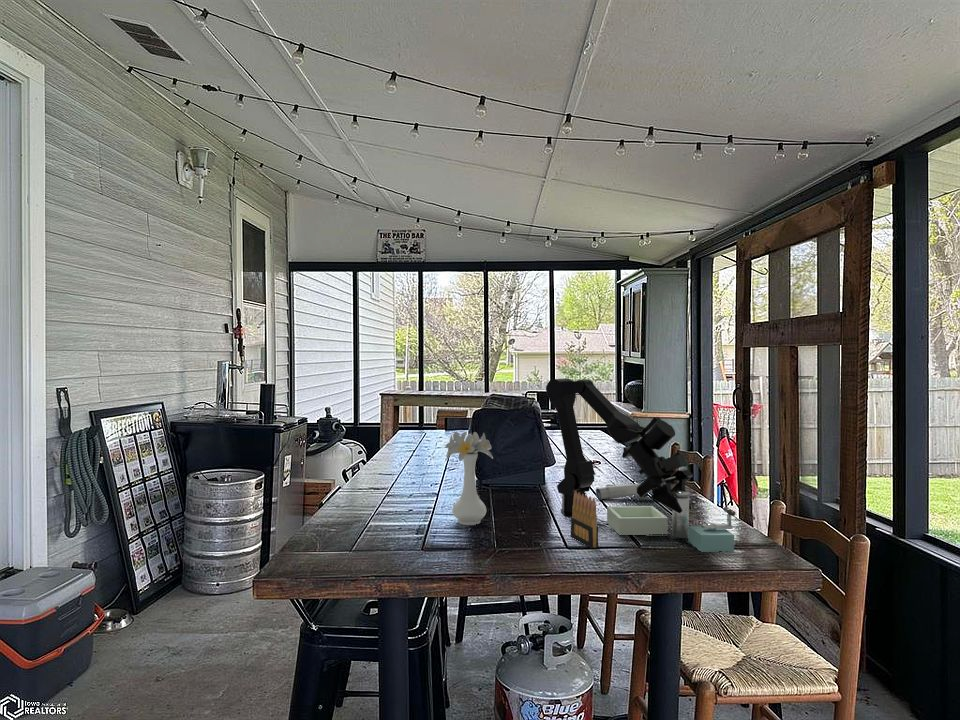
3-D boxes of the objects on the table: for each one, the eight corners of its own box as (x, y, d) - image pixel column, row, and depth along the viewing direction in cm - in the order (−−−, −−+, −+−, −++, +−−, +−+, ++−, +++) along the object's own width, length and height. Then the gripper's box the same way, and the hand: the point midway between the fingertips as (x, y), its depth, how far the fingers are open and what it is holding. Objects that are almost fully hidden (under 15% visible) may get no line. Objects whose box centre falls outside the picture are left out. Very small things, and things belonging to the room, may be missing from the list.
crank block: (700, 552, 161) (701, 535, 160) (688, 542, 168) (688, 526, 168) (733, 551, 161) (734, 534, 161) (720, 541, 169) (720, 525, 169)
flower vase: (483, 512, 197) (484, 426, 196) (498, 530, 178) (498, 435, 178) (439, 514, 194) (439, 427, 193) (449, 532, 176) (449, 436, 175)
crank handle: (707, 532, 162) (707, 511, 162) (698, 526, 167) (699, 506, 167) (736, 531, 162) (736, 511, 162) (727, 526, 168) (727, 506, 167)
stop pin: (674, 538, 169) (675, 494, 169) (669, 533, 173) (669, 490, 173) (691, 537, 169) (692, 494, 169) (685, 533, 174) (686, 490, 173)
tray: (619, 535, 174) (619, 518, 174) (606, 522, 186) (607, 506, 186) (667, 535, 174) (667, 517, 174) (652, 522, 187) (652, 506, 187)
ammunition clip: (598, 548, 163) (599, 498, 163) (591, 549, 163) (592, 499, 162) (576, 536, 173) (577, 489, 173) (570, 537, 173) (570, 490, 172)
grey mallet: (594, 486, 217) (669, 474, 219) (597, 506, 217) (672, 494, 219) (598, 489, 212) (676, 477, 214) (601, 510, 212) (678, 498, 214)
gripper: (647, 445, 167) (687, 497, 160) (686, 438, 180) (725, 486, 172) (620, 472, 173) (657, 524, 165) (660, 463, 186) (696, 511, 178)
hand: (685, 510), depth 170 cm, fingers closed on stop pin, 4 cm apart
